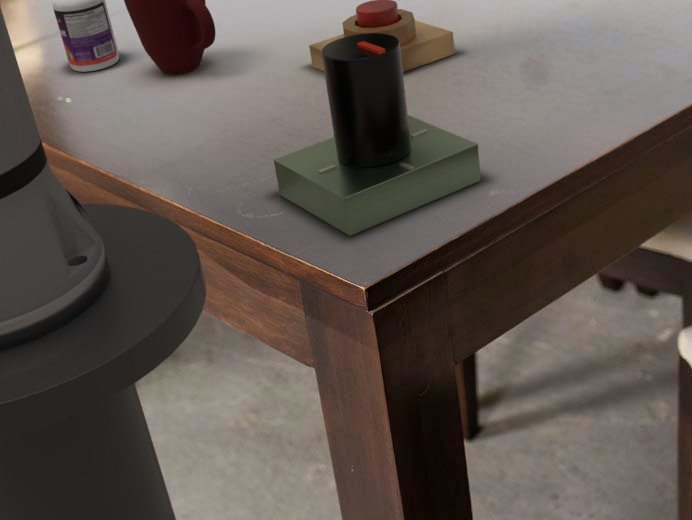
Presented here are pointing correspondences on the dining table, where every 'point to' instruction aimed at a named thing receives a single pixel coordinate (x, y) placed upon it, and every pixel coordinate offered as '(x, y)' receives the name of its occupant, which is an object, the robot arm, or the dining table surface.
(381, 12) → the button
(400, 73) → the dial
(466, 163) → the panel
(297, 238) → the dining table surface
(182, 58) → the mug
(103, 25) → the pill bottle
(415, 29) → the button block
